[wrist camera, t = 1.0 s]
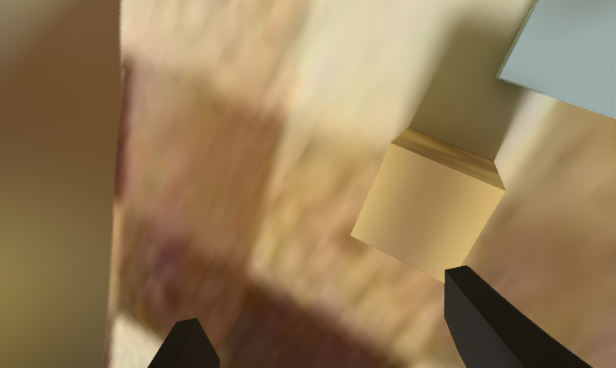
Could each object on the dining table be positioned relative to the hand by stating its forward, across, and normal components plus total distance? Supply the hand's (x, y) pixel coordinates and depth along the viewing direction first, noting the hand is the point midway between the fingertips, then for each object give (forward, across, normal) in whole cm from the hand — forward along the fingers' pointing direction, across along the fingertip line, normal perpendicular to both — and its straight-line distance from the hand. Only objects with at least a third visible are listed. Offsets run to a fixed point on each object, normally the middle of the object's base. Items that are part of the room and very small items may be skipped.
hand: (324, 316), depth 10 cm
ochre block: (+11, -7, +4) cm, 13 cm away
